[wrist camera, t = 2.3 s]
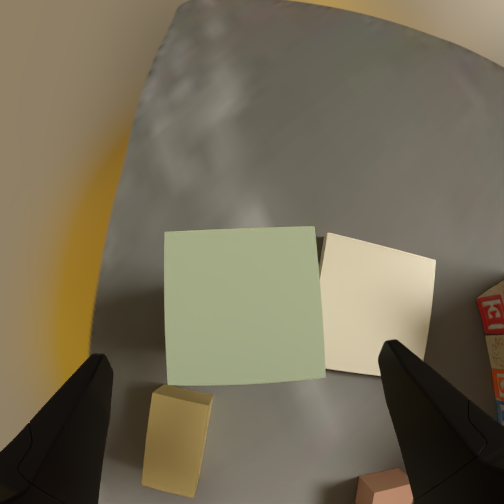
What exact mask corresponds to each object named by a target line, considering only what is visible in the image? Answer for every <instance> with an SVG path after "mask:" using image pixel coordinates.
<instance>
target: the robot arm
mask: <svg viewBox="0 0 504 504" xmlns="http://www.w3.org/2000/svg"><path fill="white" fill-rule="evenodd" d="M378 365H379V369H380V374H381V379H382V384H383V389H384V394H385V399H386V403H387V406H388V409H389V413H390V416H391V419H392V422H393V426H394V429H395V432H396V436H397V439H398V443H399V446H400V450H401V453H402V457H403V460H404V464H405V468H406V472H407V475H408V479H409V483H410V487H411V491H412V495H413V500H414V504H504V426H503V425H502V424H500V423H499V422H497V421H496V420H495V419H493V418H492V417H490V416H489V415H488V414H486V413H485V412H484V411H483V410H481V409H480V408H479V407H478V406H476V405H475V404H474V403H473V402H472V401H470V400H468V398H467V397H466V396H464V395H463V394H462V393H461V392H460V391H459V390H457V389H456V388H455V387H454V386H453V385H451V384H450V383H449V382H448V381H447V380H445V379H444V378H443V377H442V376H441V375H439V374H438V373H437V372H436V371H435V370H433V369H432V368H431V367H430V366H429V365H427V364H426V363H425V362H424V361H423V360H421V359H420V358H419V357H418V356H417V355H415V354H414V353H413V352H412V351H411V350H409V349H408V348H407V347H406V346H404V345H403V344H402V343H401V342H400V341H398V340H396V339H393V340H387V341H385V342H384V344H383V346H382V349H381V351H380V354H379V356H378ZM112 385H113V370H112V367H111V365H110V363H109V361H108V359H107V357H106V356H105V355H104V354H97V353H94V354H92V355H91V356H90V357H89V358H88V359H87V360H86V361H85V362H84V363H83V364H82V365H81V366H80V368H78V369H77V371H76V372H75V373H74V374H73V375H72V376H71V377H70V378H69V379H68V380H67V381H66V382H65V383H64V384H63V385H62V387H61V388H60V389H59V390H58V391H57V392H56V393H55V394H54V395H53V397H51V399H50V400H49V401H48V402H47V403H46V404H45V405H44V406H43V407H42V408H41V410H40V411H39V412H38V413H37V414H36V415H35V416H34V417H33V419H32V420H31V421H30V423H28V424H27V425H26V426H25V428H24V429H23V430H22V431H21V432H20V433H19V434H18V435H17V436H16V437H15V438H14V439H13V441H11V442H10V443H9V444H8V445H7V446H6V447H5V448H4V449H3V450H2V451H1V452H0V504H98V499H99V489H100V481H101V472H102V465H103V458H104V451H105V444H106V438H107V432H108V426H109V420H110V411H111V398H112Z"/></svg>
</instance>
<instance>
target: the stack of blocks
mask: <svg viewBox="0 0 504 504" xmlns="http://www.w3.org/2000/svg"><path fill="white" fill-rule="evenodd" d="M476 300H477V304H478V307H479V311H480V314H481V318H482V322H483V326H484V330H485V333H486V335H485V339H486V344H487V349H488V354H489V359H490V364H491V367H492V377H493V383H494V391H495V399H496V400H497V401H496V402H497V412H498V422H499V423H500V424H502V425H503V426H504V280H503V281H502V282H500V283H499V284H497V285H495V286H494V287H492V288H490V289H489V290H487V291H486V292H484V293H483V294H481V295H480V296H479V297H477V299H476Z"/></svg>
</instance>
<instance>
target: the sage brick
mask: <svg viewBox="0 0 504 504" xmlns="http://www.w3.org/2000/svg"><path fill="white" fill-rule="evenodd" d="M164 312H165V343H166V363H167V380H168V385H240V384H260V383H274V382H287V381H298V380H308V379H317V378H325V377H326V370H325V349H324V331H323V316H322V302H321V289H320V277H319V266H318V255H317V245H316V236H315V227H314V226H304V227H271V228H242V229H217V230H194V231H173V232H165V243H164Z"/></svg>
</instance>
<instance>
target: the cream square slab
mask: <svg viewBox="0 0 504 504" xmlns="http://www.w3.org/2000/svg"><path fill="white" fill-rule="evenodd" d="M435 265H436V260H433V259H430V258H426V257H422V256H419V255H415V254H411V253H407V252H404V251H400V250H396V249H392V248H388V247H385V246H381V245H377V244H373V243H369V242H365V241H361V240H357V239H353V238H349V237H345V236H341V235H337V234H333V233H327V234H326V235H325V236H324V239H323V245H322V251H321V257H320V263H319V277H320V289H321V302H322V316H323V331H324V349H325V368H326V369H332V370H339V371H346V372H353V373H361V374H369V375H377V376H381V374H380V369H379V365H378V356H379V354H380V351H381V349H382V346H383V344H384V342H385V341H387V340H393V339H396V340H398V341H400V342H401V343H402V344H403V345H404V346H406V347H407V348H408V349H409V350H411V351H412V352H413V353H414V354H415V355H417V356H418V357H419V358H420V359H421V360H424V355H425V349H426V343H427V337H428V331H429V324H430V316H431V308H432V300H433V290H434V279H435Z"/></svg>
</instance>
